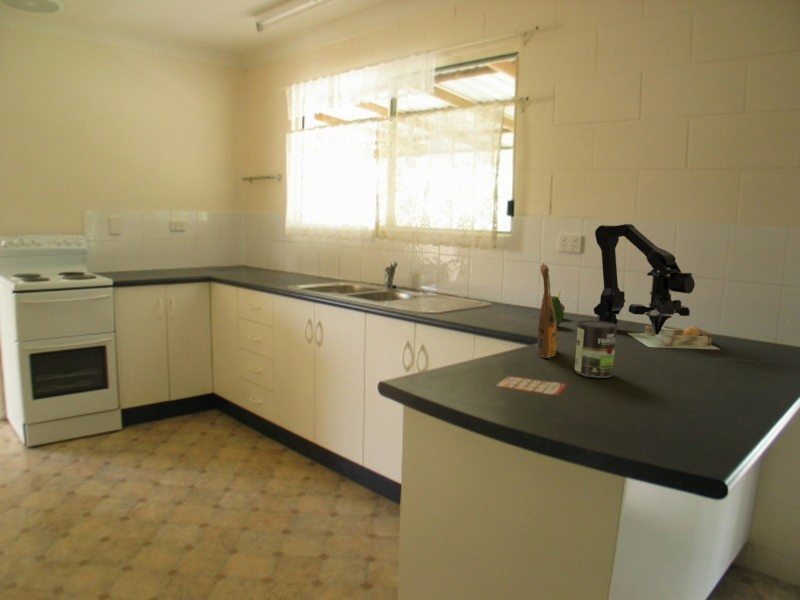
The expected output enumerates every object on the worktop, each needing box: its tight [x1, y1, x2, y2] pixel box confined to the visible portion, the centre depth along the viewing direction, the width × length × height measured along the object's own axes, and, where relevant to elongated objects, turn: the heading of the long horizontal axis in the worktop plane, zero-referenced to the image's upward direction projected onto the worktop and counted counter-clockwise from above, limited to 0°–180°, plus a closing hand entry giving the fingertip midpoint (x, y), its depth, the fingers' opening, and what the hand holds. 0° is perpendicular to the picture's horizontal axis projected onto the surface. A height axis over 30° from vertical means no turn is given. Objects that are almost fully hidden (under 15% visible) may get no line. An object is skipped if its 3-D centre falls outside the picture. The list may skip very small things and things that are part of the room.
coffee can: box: [574, 319, 618, 376], centre depth 158 cm, size 10×10×14 cm
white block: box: [655, 326, 673, 342], centre depth 201 cm, size 2×9×4 cm, turn 176°
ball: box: [684, 326, 700, 336], centre depth 200 cm, size 5×5×5 cm
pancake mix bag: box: [537, 262, 558, 357], centre depth 179 cm, size 7×19×28 cm, turn 163°
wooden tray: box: [643, 325, 713, 347], centre depth 201 cm, size 16×20×4 cm
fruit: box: [551, 295, 565, 327], centre depth 223 cm, size 8×8×12 cm
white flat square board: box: [627, 332, 720, 350], centre depth 201 cm, size 23×22×1 cm
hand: (656, 334), depth 201 cm, fingers closed
